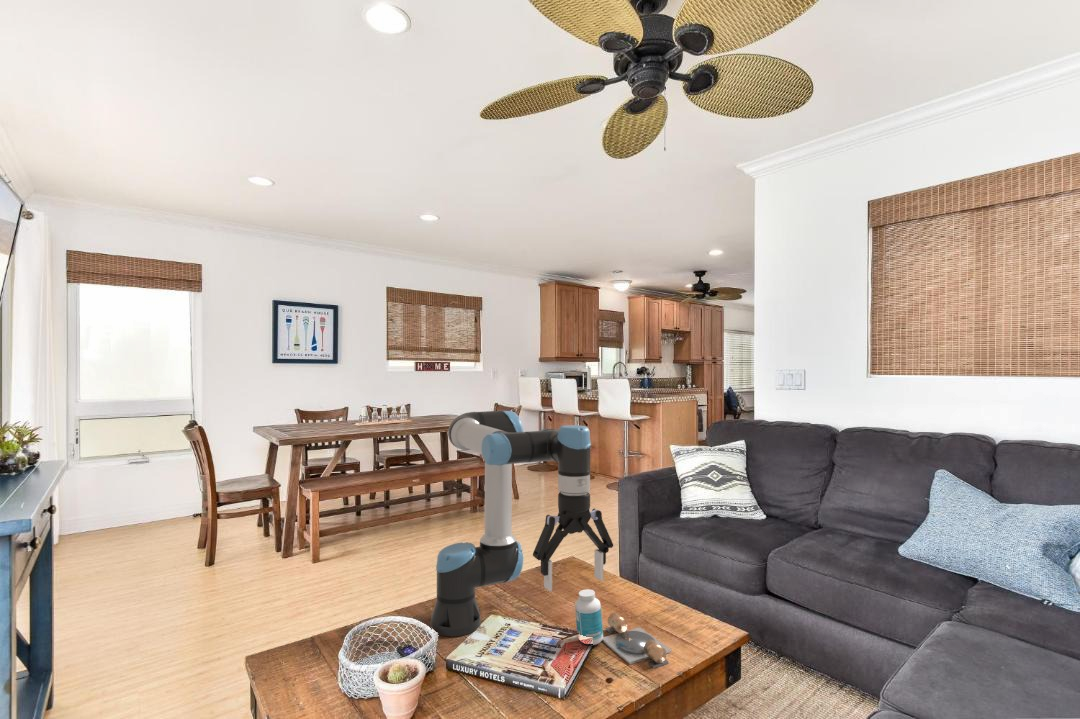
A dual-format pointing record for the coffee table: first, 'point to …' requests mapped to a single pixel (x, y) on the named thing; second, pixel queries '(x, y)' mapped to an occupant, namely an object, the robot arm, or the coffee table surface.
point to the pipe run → (634, 643)
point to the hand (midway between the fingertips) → (574, 583)
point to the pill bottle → (589, 616)
